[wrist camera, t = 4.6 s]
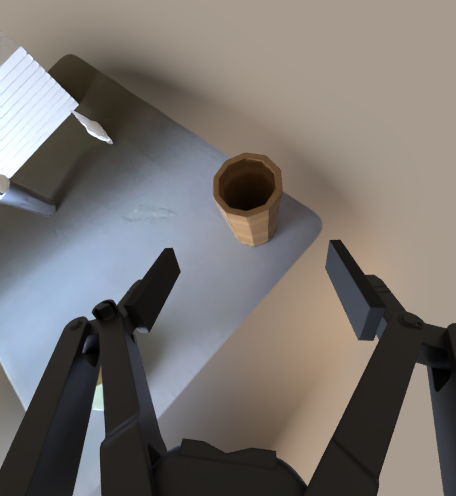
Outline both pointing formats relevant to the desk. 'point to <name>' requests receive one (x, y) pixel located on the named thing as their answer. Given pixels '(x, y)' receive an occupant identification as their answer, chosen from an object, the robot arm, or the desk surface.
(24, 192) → the milkshake
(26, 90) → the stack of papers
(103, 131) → the white tapered spindle
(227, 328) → the desk surface
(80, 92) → the desk surface
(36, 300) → the desk surface
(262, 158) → the tube
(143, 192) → the desk surface
